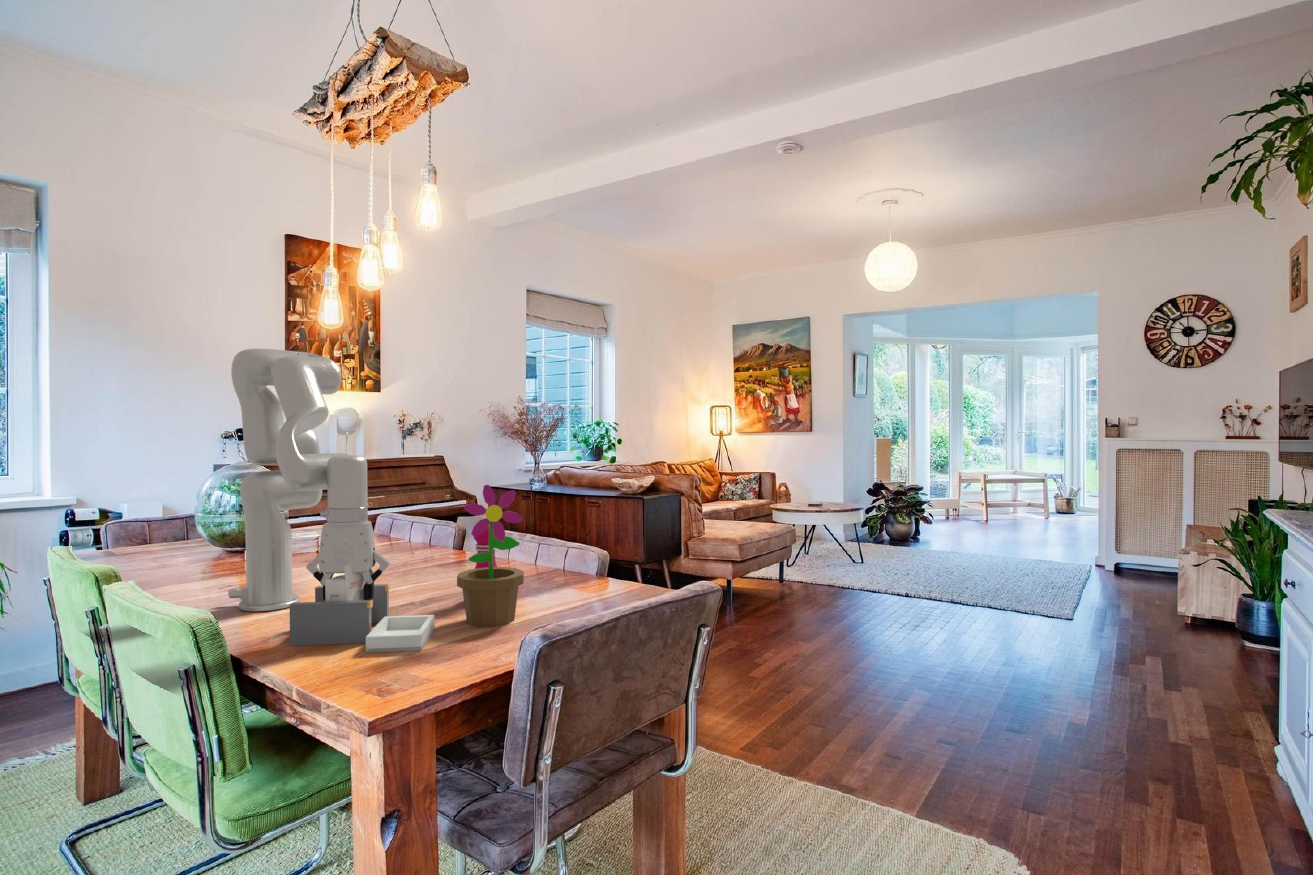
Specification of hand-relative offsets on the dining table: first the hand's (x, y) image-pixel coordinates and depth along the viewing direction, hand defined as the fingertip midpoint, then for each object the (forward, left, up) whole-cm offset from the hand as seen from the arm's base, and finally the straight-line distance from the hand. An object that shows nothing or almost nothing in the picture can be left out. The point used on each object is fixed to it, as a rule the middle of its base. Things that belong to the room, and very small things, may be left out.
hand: (348, 601), depth 144 cm
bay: (-1, 0, -6) cm, 6 cm away
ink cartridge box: (0, 0, -7) cm, 7 cm away
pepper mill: (+25, +24, -6) cm, 35 cm away
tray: (+12, -7, -6) cm, 15 cm away
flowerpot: (+28, +5, -7) cm, 29 cm away
